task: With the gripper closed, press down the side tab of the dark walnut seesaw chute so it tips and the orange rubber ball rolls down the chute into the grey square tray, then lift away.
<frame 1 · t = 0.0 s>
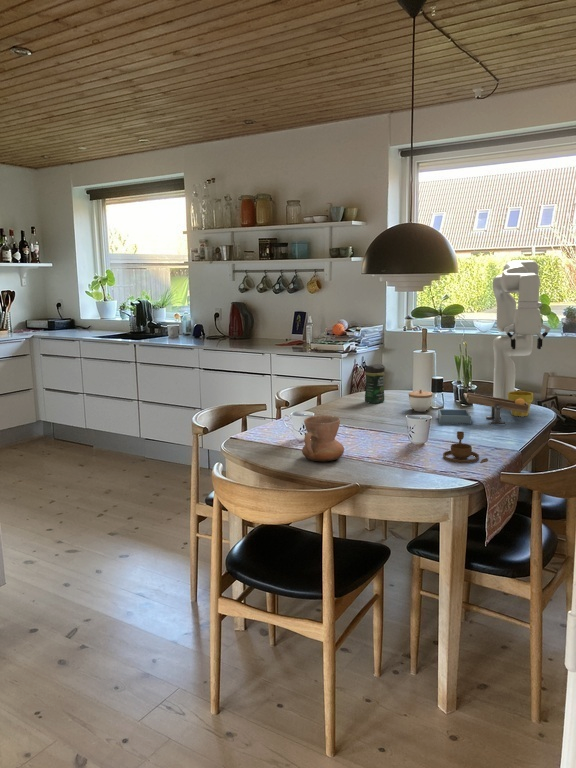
hand: (526, 348, 250), 31 cm above the table, tool pointing down, fingers open, 9 cm apart
plant pot: (519, 415, 272), on the table
coffee jar: (374, 402, 305), on the table
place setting: (465, 457, 217), on the table
ball: (519, 403, 259), point 8 cm above the table, tilted 11°, touching chute
pivot stand: (495, 421, 262), on the table
chute: (495, 399, 265), point 8 cm above the table, hinge at -10.0°, touching ball
grey square tray: (453, 420, 265), on the table
lidded jar: (420, 410, 286), on the table
ceramic jug: (322, 459, 216), on the table
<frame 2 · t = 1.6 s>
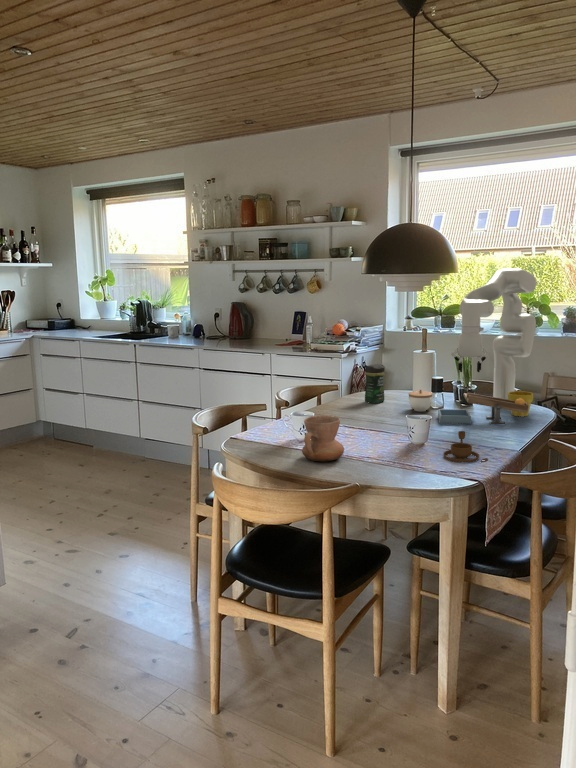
hand: (469, 371, 269), 20 cm above the table, tool pointing down, fingers open, 6 cm apart
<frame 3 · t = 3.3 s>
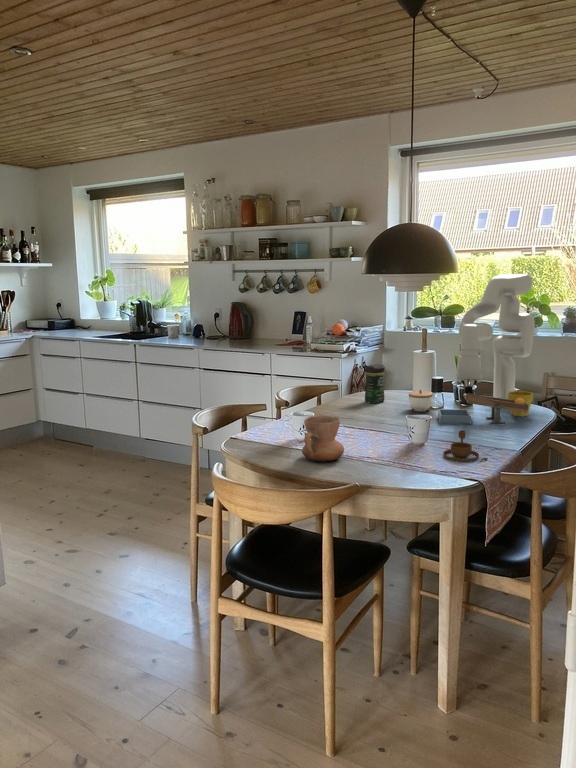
hand: (468, 395, 270), 9 cm above the table, tool pointing down, fingers closed
chute: (494, 399, 265), point 8 cm above the table, hinge at -8.9°, touching ball, gripper
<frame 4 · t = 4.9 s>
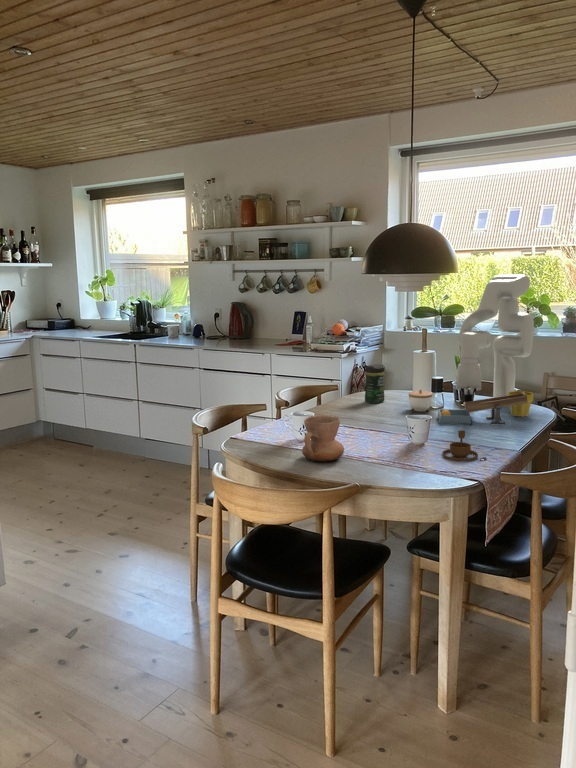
hand: (467, 403, 271), 6 cm above the table, tool pointing down, fingers closed
ball: (445, 414, 265), point 3 cm above the table, tilted 164°, touching grey square tray
chute: (493, 399, 265), point 8 cm above the table, hinge at 10.3°, touching gripper
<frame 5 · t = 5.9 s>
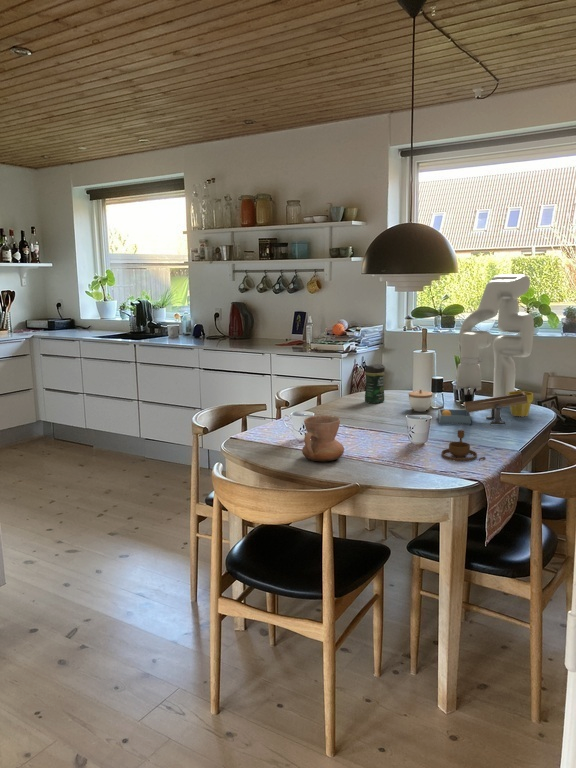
hand: (467, 403, 271), 6 cm above the table, tool pointing down, fingers closed
ball: (446, 414, 265), point 3 cm above the table, tilted 155°, touching grey square tray
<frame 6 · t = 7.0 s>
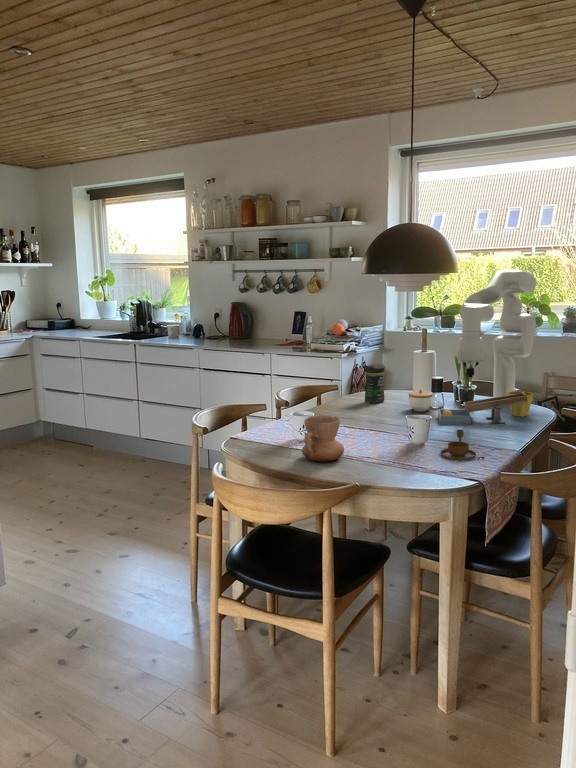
hand: (470, 376, 270), 17 cm above the table, tool pointing down, fingers closed
ball: (447, 414, 265), point 3 cm above the table, tilted 146°, touching grey square tray
chute: (493, 399, 265), point 8 cm above the table, hinge at 10.3°
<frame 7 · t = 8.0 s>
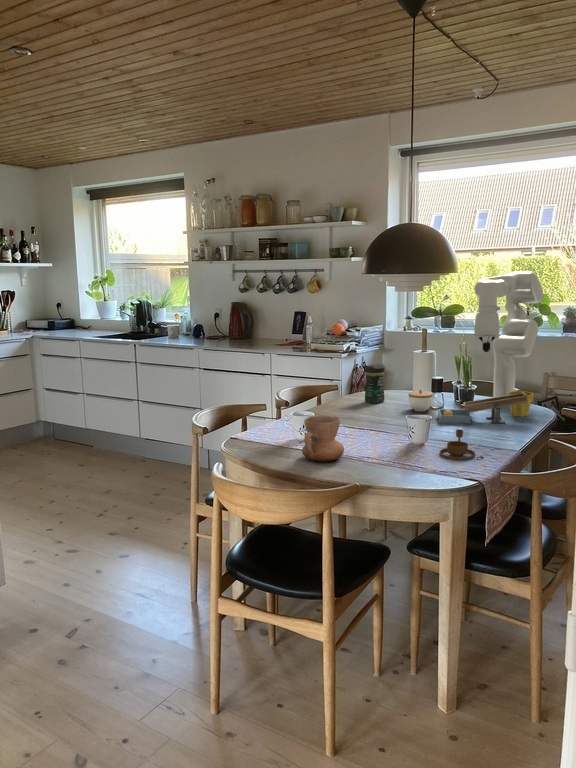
hand: (486, 351, 275), 27 cm above the table, tool pointing down, fingers closed
ball: (447, 414, 265), point 3 cm above the table, tilted 137°, touching grey square tray
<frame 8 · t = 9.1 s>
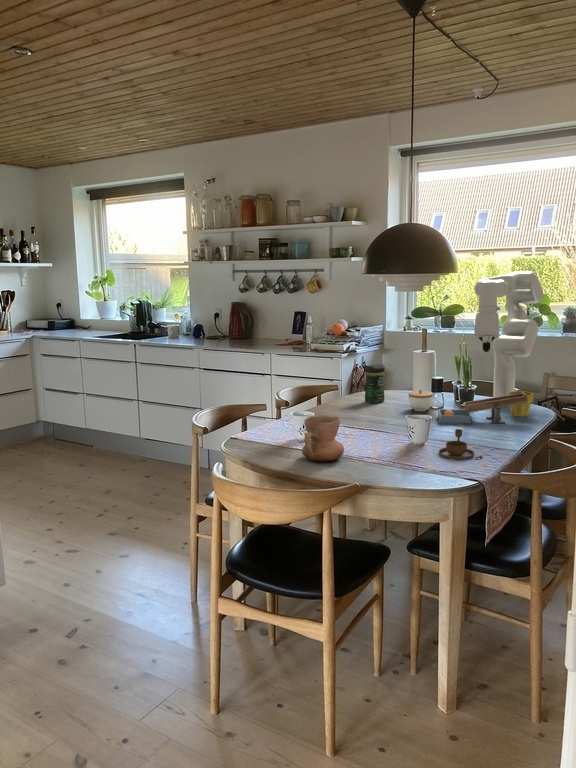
hand: (486, 351, 275), 27 cm above the table, tool pointing down, fingers closed
ball: (448, 414, 265), point 3 cm above the table, tilted 127°, touching grey square tray
at the end: ball inside the target area on the grey square tray (2.1 cm from its centre), point 2.6 cm above the grey square tray's base; chute at +10° (first picture: -10°) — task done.
